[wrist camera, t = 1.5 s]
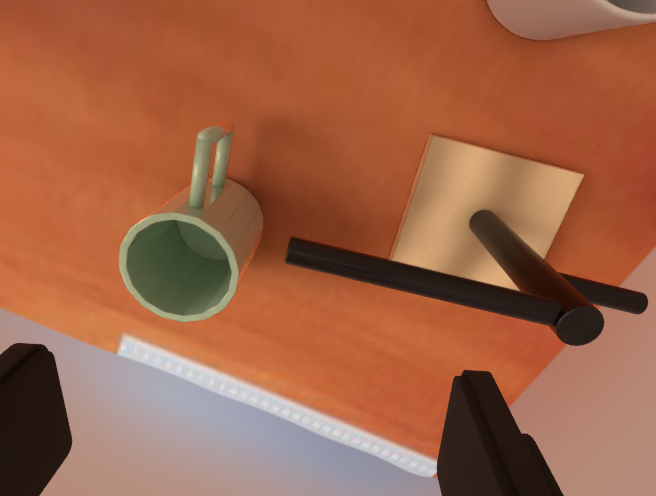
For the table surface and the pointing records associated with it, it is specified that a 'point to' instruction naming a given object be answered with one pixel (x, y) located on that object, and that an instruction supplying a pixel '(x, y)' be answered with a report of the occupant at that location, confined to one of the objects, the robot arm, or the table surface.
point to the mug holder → (482, 242)
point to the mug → (569, 16)
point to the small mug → (194, 239)
